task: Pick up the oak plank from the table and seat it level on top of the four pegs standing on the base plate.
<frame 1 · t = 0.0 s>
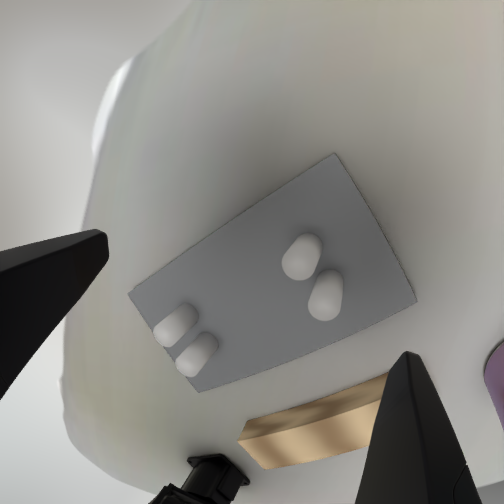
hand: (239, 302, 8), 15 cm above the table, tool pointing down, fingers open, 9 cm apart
peg board: (256, 295, 26), on the table
oak plank: (336, 412, 27), on the table
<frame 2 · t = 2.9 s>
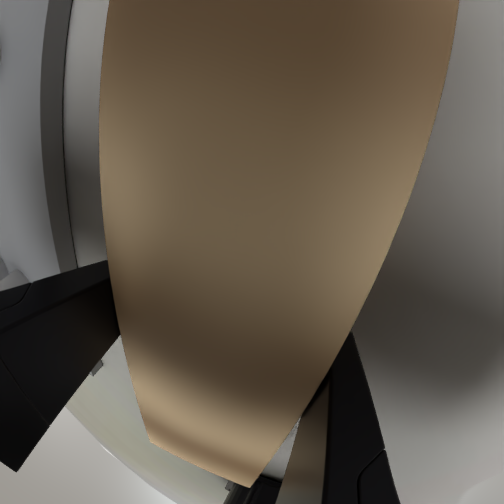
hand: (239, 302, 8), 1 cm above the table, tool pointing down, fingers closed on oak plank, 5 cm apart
peg board: (3, 173, 12), on the table
oak plank: (259, 271, 10), on the table, touching gripper
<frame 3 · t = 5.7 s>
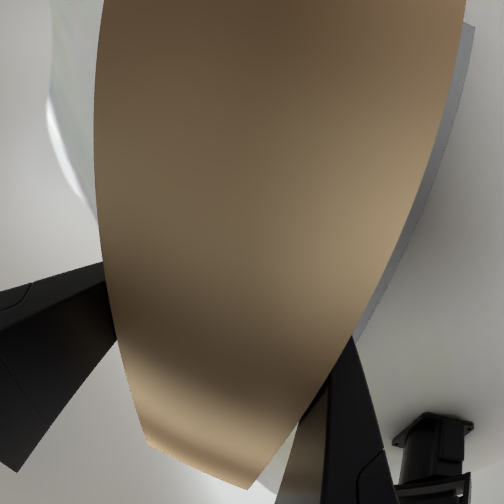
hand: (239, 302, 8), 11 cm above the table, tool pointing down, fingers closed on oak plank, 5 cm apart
peg board: (314, 179, 17), on the table
oak plank: (258, 272, 9), point 10 cm above the table, touching gripper
when the fingers open (7 cm above the table, at t = 7.6 s): oak plank stays where it is, resting on peg board.
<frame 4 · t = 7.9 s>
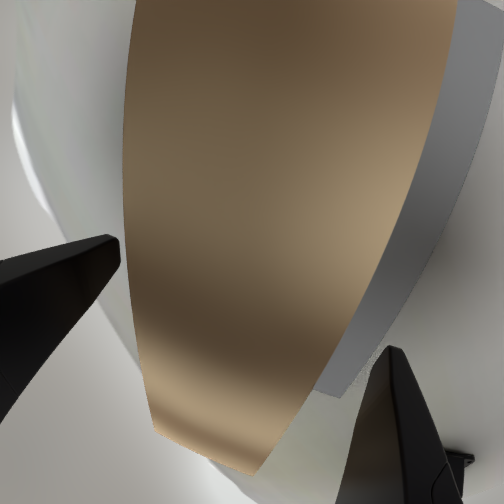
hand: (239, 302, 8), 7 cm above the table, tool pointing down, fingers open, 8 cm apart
peg board: (302, 202, 14), on the table
oak plank: (267, 260, 10), point 5 cm above the table, touching peg board
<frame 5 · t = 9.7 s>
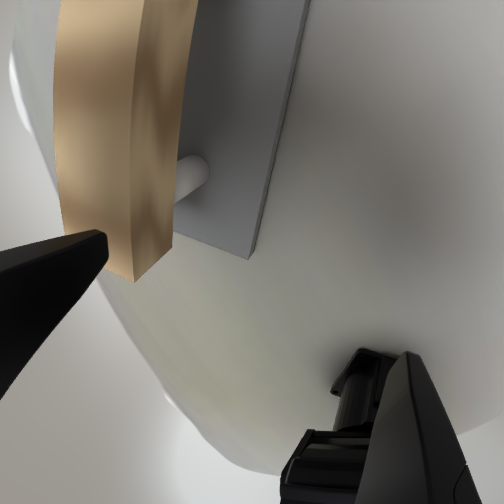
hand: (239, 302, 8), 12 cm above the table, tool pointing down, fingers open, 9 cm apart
peg board: (194, 71, 17), on the table
oak plank: (141, 76, 13), point 5 cm above the table, touching peg board
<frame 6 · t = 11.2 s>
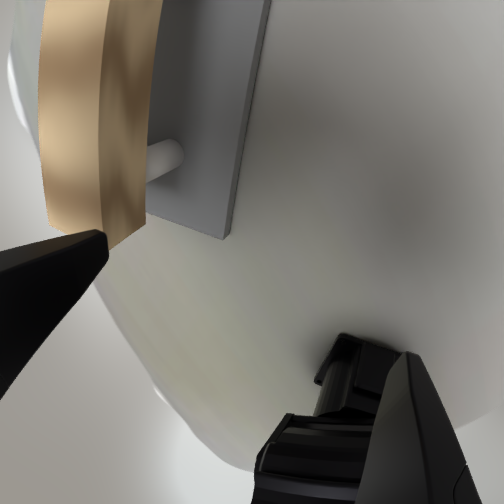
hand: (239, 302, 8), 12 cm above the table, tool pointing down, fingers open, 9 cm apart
peg board: (170, 61, 17), on the table
oak plank: (117, 64, 13), point 5 cm above the table, touching peg board
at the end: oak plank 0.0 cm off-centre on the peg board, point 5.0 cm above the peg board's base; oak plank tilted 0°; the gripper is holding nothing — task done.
